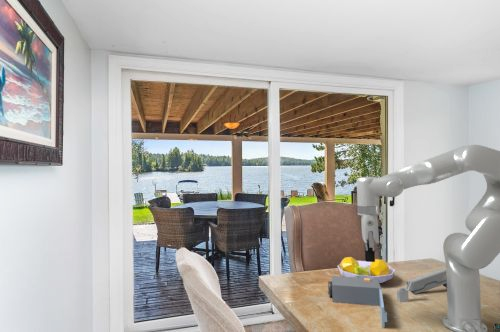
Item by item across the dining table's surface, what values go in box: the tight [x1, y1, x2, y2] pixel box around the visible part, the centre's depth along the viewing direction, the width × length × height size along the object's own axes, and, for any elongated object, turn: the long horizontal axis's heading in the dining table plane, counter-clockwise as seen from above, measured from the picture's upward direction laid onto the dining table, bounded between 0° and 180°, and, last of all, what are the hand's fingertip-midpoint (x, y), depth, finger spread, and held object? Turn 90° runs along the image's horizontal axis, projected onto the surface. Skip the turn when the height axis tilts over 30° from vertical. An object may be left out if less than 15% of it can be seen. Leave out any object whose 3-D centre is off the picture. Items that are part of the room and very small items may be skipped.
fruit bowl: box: [337, 256, 396, 284], centre depth 156 cm, size 28×27×11 cm
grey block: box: [327, 275, 382, 307], centre depth 133 cm, size 12×21×8 cm, turn 75°
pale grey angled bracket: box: [396, 279, 414, 303], centre depth 130 cm, size 7×2×8 cm, turn 100°
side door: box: [378, 288, 388, 328], centre depth 116 cm, size 2×19×7 cm, turn 160°
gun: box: [406, 267, 447, 295], centre depth 139 cm, size 2×25×10 cm, turn 99°
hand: (370, 261), depth 114 cm, fingers closed
